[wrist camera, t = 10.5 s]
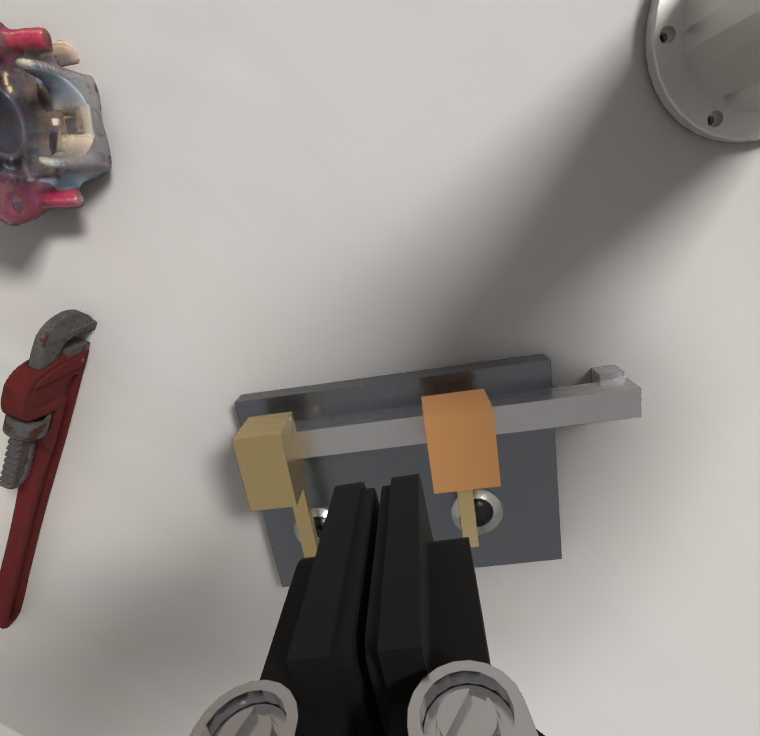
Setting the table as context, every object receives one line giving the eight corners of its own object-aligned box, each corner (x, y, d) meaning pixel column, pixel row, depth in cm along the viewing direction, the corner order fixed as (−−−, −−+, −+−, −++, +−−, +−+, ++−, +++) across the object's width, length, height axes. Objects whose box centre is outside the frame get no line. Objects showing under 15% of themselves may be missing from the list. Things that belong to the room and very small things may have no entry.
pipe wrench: (3, 601, 44) (77, 296, 35) (30, 611, 44) (111, 311, 35) (-63, 666, 38) (6, 316, 29) (-31, 678, 38) (48, 334, 29)
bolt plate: (617, 344, 34) (670, 375, 28) (620, 539, 39) (666, 607, 32) (241, 394, 37) (205, 435, 30) (286, 573, 41) (264, 643, 34)
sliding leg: (479, 380, 33) (493, 409, 28) (494, 521, 36) (508, 569, 31) (420, 388, 33) (423, 418, 29) (439, 527, 37) (445, 575, 32)
